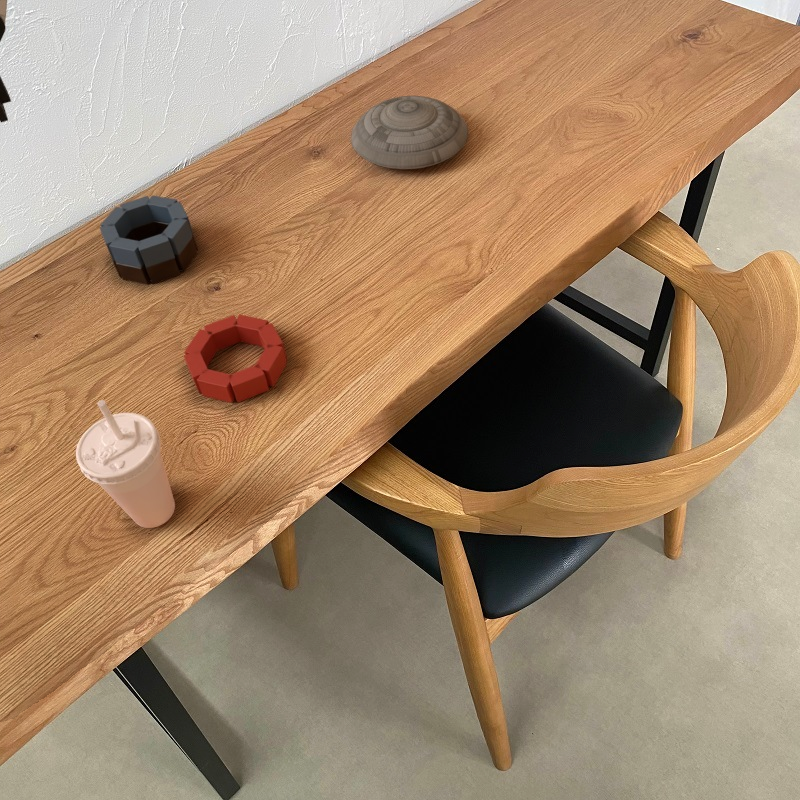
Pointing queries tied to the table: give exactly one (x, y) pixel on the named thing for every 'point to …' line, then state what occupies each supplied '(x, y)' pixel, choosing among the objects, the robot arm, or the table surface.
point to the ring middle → (149, 248)
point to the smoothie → (128, 465)
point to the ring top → (244, 380)
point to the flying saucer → (409, 133)
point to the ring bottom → (160, 269)
